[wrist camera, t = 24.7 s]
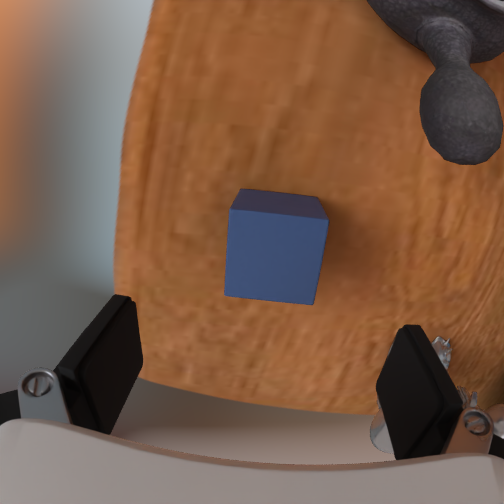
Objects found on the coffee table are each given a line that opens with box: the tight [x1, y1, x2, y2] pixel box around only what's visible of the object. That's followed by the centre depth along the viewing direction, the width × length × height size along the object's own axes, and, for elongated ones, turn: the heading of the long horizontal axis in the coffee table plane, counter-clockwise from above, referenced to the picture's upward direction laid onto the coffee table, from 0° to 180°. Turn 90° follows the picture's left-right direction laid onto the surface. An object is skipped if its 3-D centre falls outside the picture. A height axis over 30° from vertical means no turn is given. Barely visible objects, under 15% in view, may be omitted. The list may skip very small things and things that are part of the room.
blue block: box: [224, 189, 329, 305], centre depth 19 cm, size 5×5×5 cm
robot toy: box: [370, 337, 504, 454], centre depth 18 cm, size 15×6×15 cm, turn 76°
